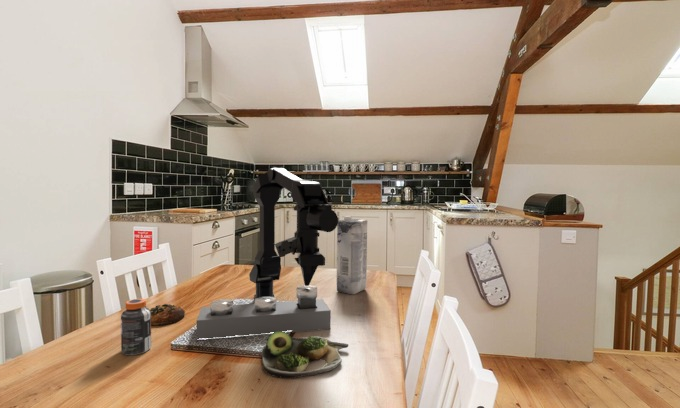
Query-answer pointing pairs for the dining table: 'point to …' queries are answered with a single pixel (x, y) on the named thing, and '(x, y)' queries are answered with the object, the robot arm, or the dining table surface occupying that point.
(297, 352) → the salad plate
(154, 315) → the bread roll
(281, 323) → the console
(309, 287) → the plunger
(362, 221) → the juice carton
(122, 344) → the pill bottle
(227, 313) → the plunger
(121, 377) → the dining table surface
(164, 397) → the dining table surface
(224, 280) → the dining table surface
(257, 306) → the plunger middle
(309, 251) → the robot arm
